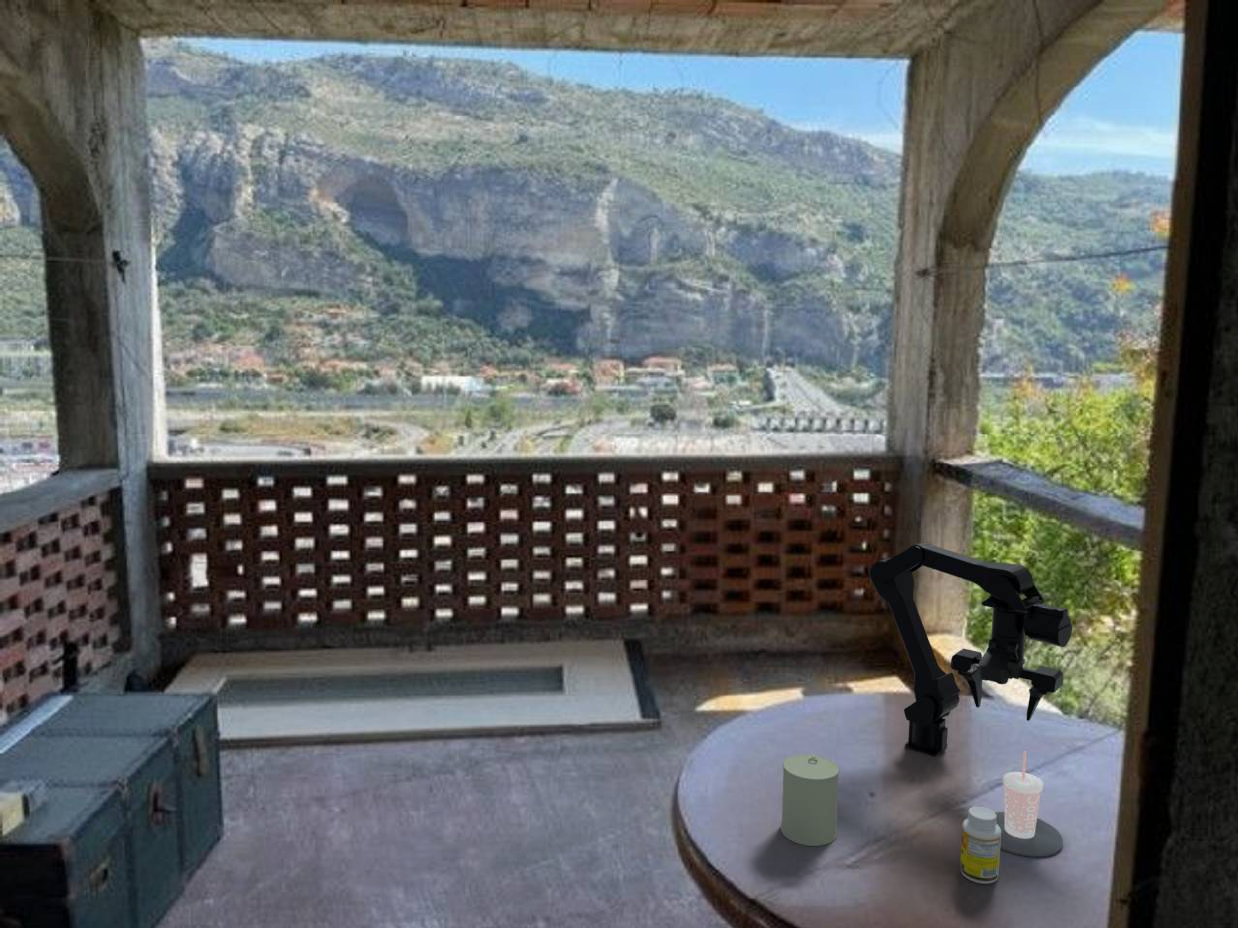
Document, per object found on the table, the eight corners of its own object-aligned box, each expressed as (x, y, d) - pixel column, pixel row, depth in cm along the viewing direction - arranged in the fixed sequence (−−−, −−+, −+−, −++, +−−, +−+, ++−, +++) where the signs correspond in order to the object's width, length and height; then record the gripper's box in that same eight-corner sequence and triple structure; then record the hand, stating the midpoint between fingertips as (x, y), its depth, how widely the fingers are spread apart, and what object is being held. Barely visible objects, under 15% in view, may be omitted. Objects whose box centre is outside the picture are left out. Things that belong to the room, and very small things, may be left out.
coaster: (965, 836, 152) (965, 833, 152) (992, 807, 162) (993, 803, 162) (1049, 866, 144) (1049, 863, 144) (1072, 833, 153) (1072, 829, 153)
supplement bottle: (967, 860, 145) (970, 799, 144) (1003, 873, 142) (1007, 811, 140) (953, 876, 141) (957, 813, 140) (991, 890, 137) (995, 826, 136)
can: (839, 822, 156) (842, 755, 155) (833, 850, 148) (836, 780, 146) (785, 813, 159) (787, 747, 158) (776, 840, 151) (778, 771, 149)
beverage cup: (1009, 841, 150) (1014, 759, 148) (993, 821, 156) (998, 743, 154) (1046, 840, 150) (1052, 759, 148) (1029, 821, 156) (1035, 743, 154)
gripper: (941, 632, 170) (937, 713, 172) (1048, 655, 158) (1042, 741, 160) (963, 619, 179) (959, 695, 181) (1066, 639, 167) (1060, 721, 169)
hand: (1002, 713), depth 173 cm, fingers open, 9 cm apart
